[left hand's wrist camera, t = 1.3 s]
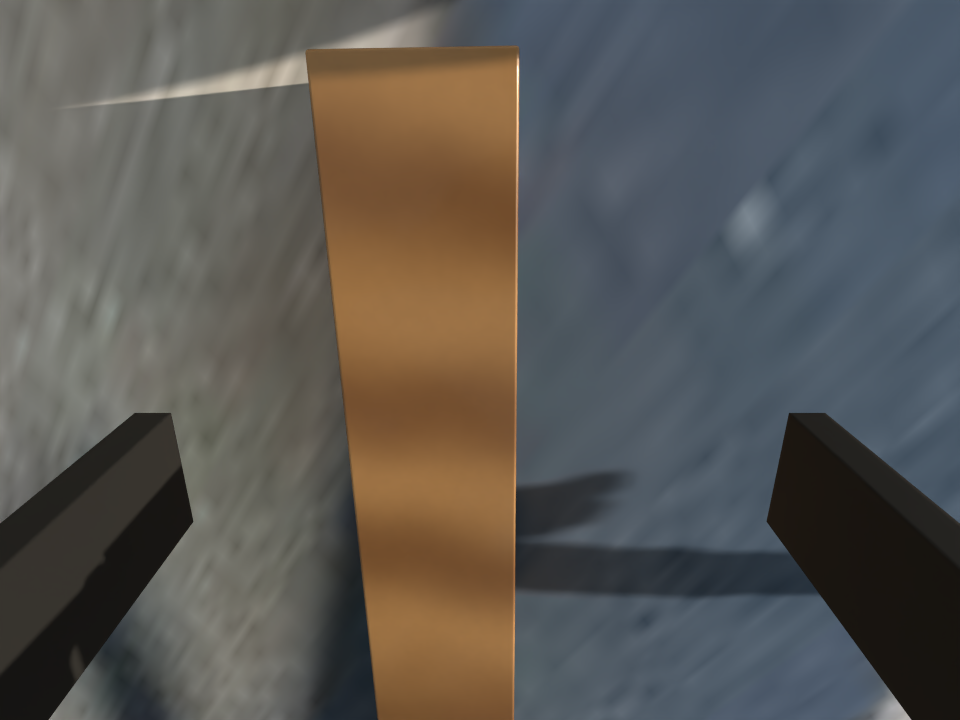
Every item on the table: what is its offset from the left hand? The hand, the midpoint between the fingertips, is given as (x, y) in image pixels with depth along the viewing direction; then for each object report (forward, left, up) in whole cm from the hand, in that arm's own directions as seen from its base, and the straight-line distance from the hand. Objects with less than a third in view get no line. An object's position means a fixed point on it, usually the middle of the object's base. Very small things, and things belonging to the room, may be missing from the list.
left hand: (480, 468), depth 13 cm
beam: (+22, +14, -13) cm, 30 cm away
